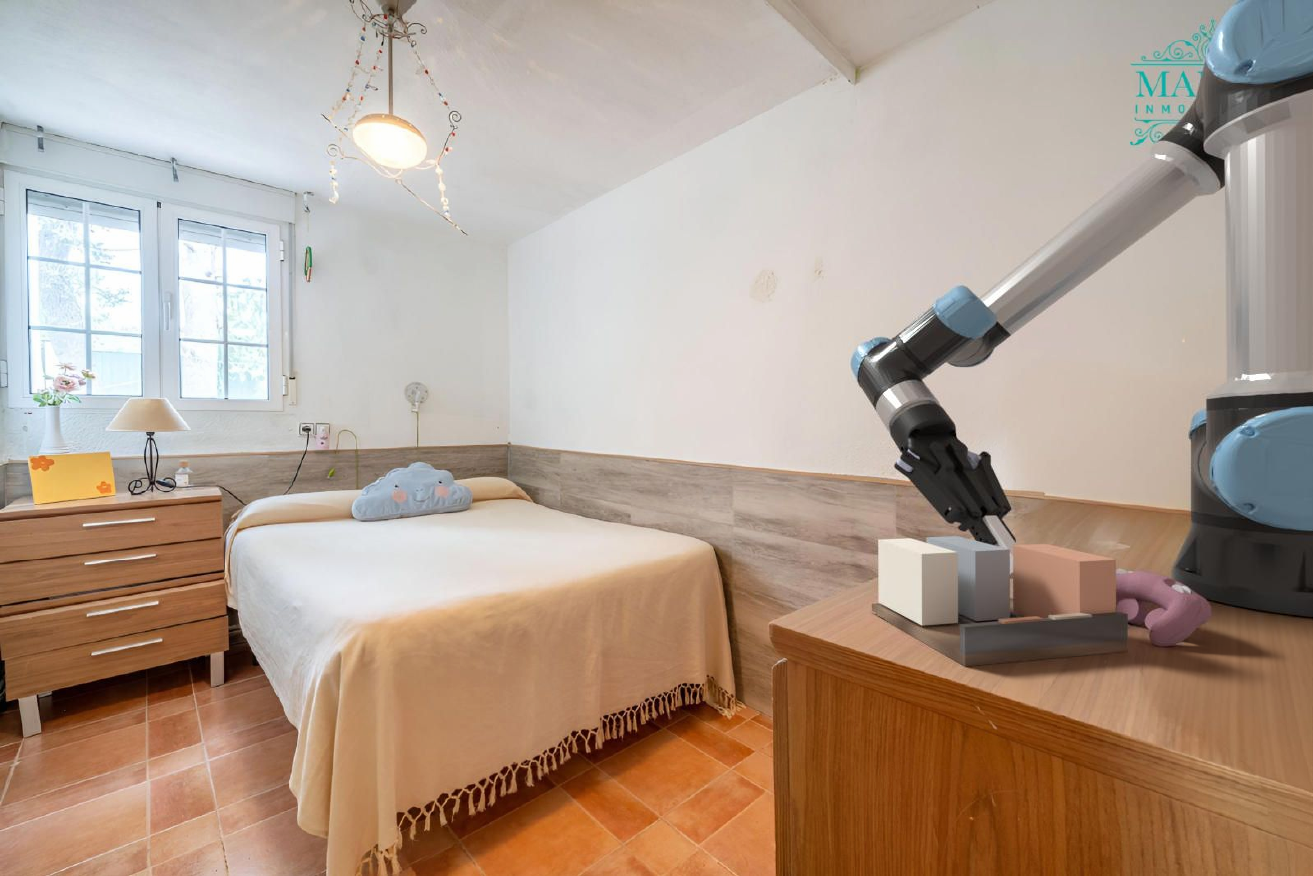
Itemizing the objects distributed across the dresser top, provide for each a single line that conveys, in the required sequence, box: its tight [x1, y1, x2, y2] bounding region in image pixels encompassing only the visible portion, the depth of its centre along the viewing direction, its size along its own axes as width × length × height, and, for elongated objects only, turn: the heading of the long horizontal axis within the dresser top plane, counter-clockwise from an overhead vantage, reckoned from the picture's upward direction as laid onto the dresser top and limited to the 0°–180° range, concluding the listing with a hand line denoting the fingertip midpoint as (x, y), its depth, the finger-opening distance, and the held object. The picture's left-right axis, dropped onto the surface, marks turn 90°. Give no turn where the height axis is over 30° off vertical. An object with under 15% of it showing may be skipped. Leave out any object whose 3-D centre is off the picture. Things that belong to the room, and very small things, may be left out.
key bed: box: [871, 597, 1129, 667], centre depth 51 cm, size 14×17×4 cm
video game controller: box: [1116, 568, 1212, 648], centre depth 52 cm, size 10×5×7 cm, turn 0°
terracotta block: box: [1012, 543, 1117, 618], centre depth 50 cm, size 7×4×7 cm, turn 10°
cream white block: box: [877, 537, 958, 626], centre depth 53 cm, size 7×4×7 cm, turn 10°
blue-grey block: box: [925, 535, 1011, 621], centre depth 54 cm, size 7×4×7 cm, turn 10°
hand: (1017, 572), depth 55 cm, fingers closed
